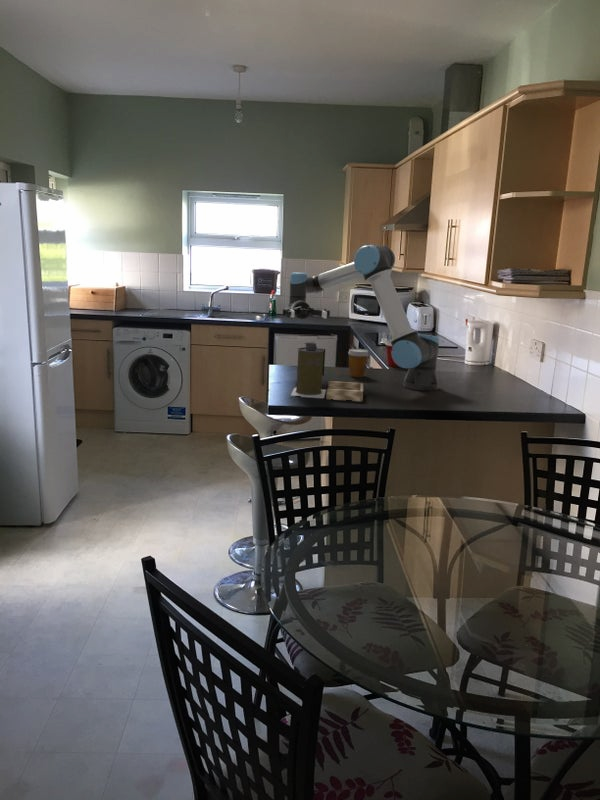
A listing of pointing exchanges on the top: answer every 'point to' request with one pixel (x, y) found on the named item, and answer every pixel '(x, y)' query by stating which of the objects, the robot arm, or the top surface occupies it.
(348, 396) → the tan low open frame
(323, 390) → the mat
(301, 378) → the canister
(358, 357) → the disposable coffee cup
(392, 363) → the plastic cup
